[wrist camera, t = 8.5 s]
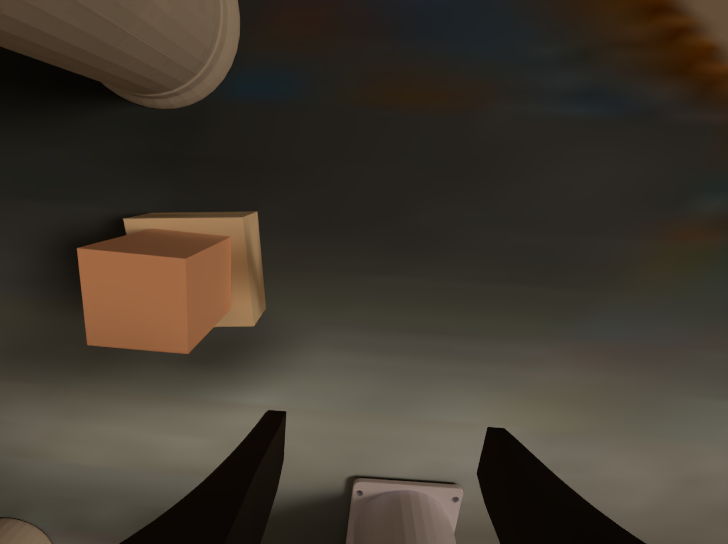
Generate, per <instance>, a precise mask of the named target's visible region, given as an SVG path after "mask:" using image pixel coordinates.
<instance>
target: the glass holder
mask: <svg viewBox="0 0 728 544" xmlns="http://www.w3.org/2000/svg"><path fill="white" fill-rule="evenodd" d="M239 36H240V14H239V7H238V0H0V47H3V48H6V49H9V50H12V51H15V52H17V53H20V54H23V55H26V56H29V57H32V58H35V59H37V60H40V61H43V62H46V63H49V64H52V65H54V66H57V67H60V68H63V69H66V70H69V71H71V72H74V73H77V74H80V75H83V76H86V77H88V78H91V79H94V80H97V81H100V82H101V83H102V84H103V85H105V86H106V87H107V88H109V89H110V90H112V91H113V92H114V93H116V94H117V95H119V96H121V97H123V98H125V99H127V100H129V101H131V102H133V103H136V104H139V105H142V106H145V107H149V108H157V109H174V108H180V107H184V106H188V105H191V104H193V103H195V102H197V101H199V100H201V99H203V98H205V97H206V96H207V95H208V94H210V93H211V92H212V91H214V90H215V89H216V87H217V86H218V85H219V84H220V83H221V82H222V81H223V79H224V78H225V76H226V74H227V73H228V71H229V69H230V68H231V66H232V63H233V60H234V57H235V55H236V52H237V47H238V41H239Z"/></svg>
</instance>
